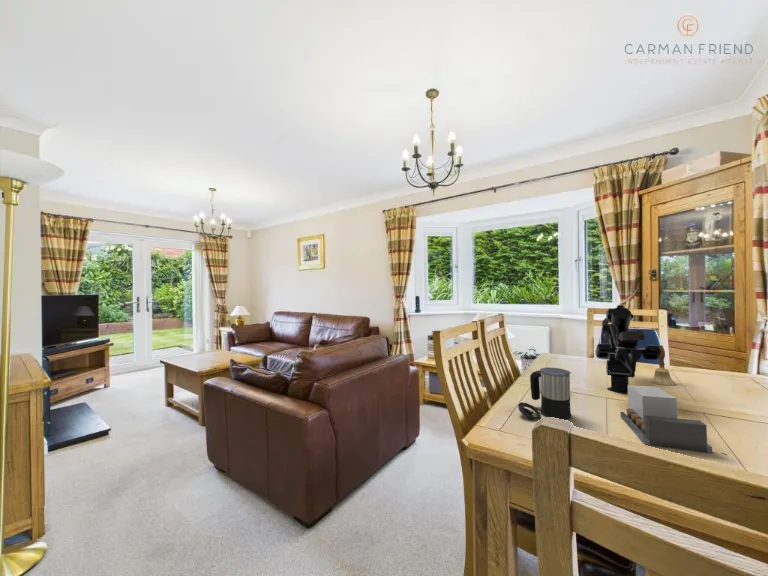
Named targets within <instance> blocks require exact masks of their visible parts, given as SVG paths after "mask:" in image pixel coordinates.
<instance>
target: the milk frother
mask: <svg viewBox="0 0 768 576" xmlns="http://www.w3.org/2000/svg"><path fill="white" fill-rule="evenodd" d="M570 375H571V371H569V370H567V369H564V368H559V367H542V368H540V369H539V370H534V371H533V372H531V374H530V375H529V376H530V377H529V382H530V393H531V399H532V400H534V401H538V400H539V399H540V400H541V403H540V404H541V405H540V408H537V407H536V406H534V405H532V404H529V403H527V402H519V403H518V405H517V407H518V410H519V412H520V413H521V414H522V415H523V416H524V417H526V418H527V419H531V420H538V419H540V418H541V416H542V415H543V416H545V417H547V416H549V417H548V418H550V417H555V418H559V419H558V420H569V419H571V417H572V415H573V414H572V413H571V412H572V411H571V410H572V409H571V381H570V380H571V376H570ZM539 377H541V392H540V389H539ZM534 413H535V414H534ZM541 414H542V415H541Z"/></svg>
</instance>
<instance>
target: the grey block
mask: <svg viewBox="0 0 768 576" xmlns="http://www.w3.org/2000/svg"><path fill="white" fill-rule="evenodd" d="M627 401H628V403H627V405H628V408H629V409H633V410H634V412H635V413H636V414H638V415H639V416H640V417H641V418H642V419H643V420H644V415H646V416H656V417H667V418H678V409H677V408H678V407H677V406H678V405H677V398H676V397H675V396H673V395H671V394H670V393H668V392H666V391H665V390H663V389H661V388H660V387H658V386H648V385H646V386H645V385H632V384H631V385H630V384H629V385H628V393H627Z"/></svg>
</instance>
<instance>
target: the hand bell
mask: <svg viewBox="0 0 768 576" xmlns="http://www.w3.org/2000/svg"><path fill="white" fill-rule="evenodd" d="M658 346H659V347H660V348H661V350H662V352H661V354H660V356H659V357H658V366H659V367H658V368H656V369H654V375H653V377H652V378H650V379H649V382H651V383H652V384H655V385H660V386H675V385H676V384H677V383H676V382H675V381H674V380H673V379H672V377H671V375H670V371H669V370H668V369H666V368H665V357H666V351H665V349H664V346H663V345H661V344H658Z"/></svg>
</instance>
